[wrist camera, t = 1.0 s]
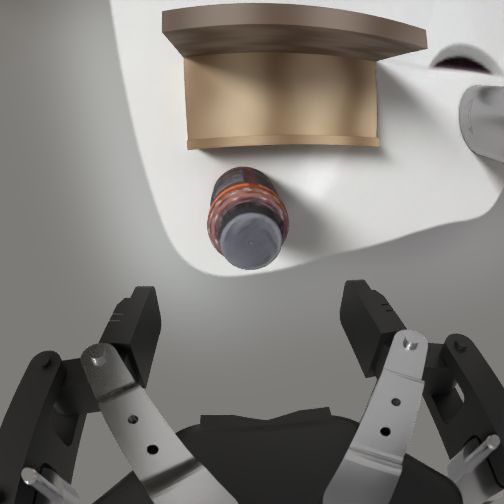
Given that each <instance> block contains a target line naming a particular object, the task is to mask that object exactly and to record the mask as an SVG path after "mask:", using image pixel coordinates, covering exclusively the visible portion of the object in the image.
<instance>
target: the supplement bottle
mask: <svg viewBox="0 0 504 504" xmlns="http://www.w3.org/2000/svg"><path fill="white" fill-rule="evenodd" d="M207 228H208V234H209V237H210V240H211V242H212V244H213V246H214V247H215V248H216V250H217V251H218V252H219V253H220V254H221V255H223V256H224V257H225V258H226V259H227V261H229V262H230V263H231V264H232V265H234V266H236V267H238V268H241V269H245V270H255V269H259V268H262V267H265V266H267V265H268V264H270V263H271V262H272V261H273V260H274V259H275V258H276V257H277V255H278V254H279V252H280V250H281V246H282V244H283V243H284V241H285V239H286V236H287V233H288V228H289V220H288V215H287V211H286V208H285V206H284V204H283V202H282V200H281V199H280V197H279V195H278V194H277V192H276V190H275V189H274V187H273V185H272V184H271V182H270V181H269V179H268V178H267V177H266V176H265V175H264V174H263V173H261V172H260V171H258V170H256V169H253V168H249V167H237V168H233V169H231V170H229V171H227V172H225V173H224V174H223V175H222V176H221V177H220V178H219V179H218V180H217V182H216V184H215V186H214V188H213V192H212V197H211V203H210V208H209V215H208V221H207Z"/></svg>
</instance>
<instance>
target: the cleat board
mask: <svg viewBox="0 0 504 504" xmlns="http://www.w3.org/2000/svg"><path fill="white" fill-rule="evenodd" d="M162 33H163V34H164V35H165V36H166V37H167V38H168V40H169V41H170V42H171V43H172V44H173V45H174V47H175V48H176V49H177V50H178V51H179V53H180V54H181V55H182V56H183V57H184V81H185V101H186V117H187V132H188V140H187V147H188V150H193V149H204V148H217V147H232V146H250V145H280V144H327V145H357V146H375V147H379V144H380V138H376V130H377V95H376V66H375V62H376V61H379V60H383V59H386V58H390V57H394V56H398V55H402V54H406V53H410V52H415V51H419V50H424V49H428V47H427V37H426V30H424V29H421V28H418V27H415V26H411V25H408V24H405V23H401V22H397V21H393V20H390V19H386V18H381V17H377V16H372V15H368V14H363V13H358V12H352V11H346V10H340V9H333V8H326V7H317V6H307V5H295V4H276V3H237V4H218V5H206V6H196V7H187V8H180V9H173V10H167V11H162Z"/></svg>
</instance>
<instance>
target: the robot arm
mask: <svg viewBox="0 0 504 504" xmlns="http://www.w3.org/2000/svg"><path fill="white" fill-rule="evenodd" d="M459 120H460V127H461V131H462V134H463V137H464V139H465V141H466V143H467V145H468V146H469V148H470V149H471V150H472V151H473V152H475V153H477V154H478V155H481V156H485V157H488V158H491V159H494V160H497V161H499V162H502V163H504V87H500V86H482V85H475V86H472V87H470V88H469V89H467V91H466V92H465V93H464V95H463V97H462V99H461V103H460V110H459ZM340 321H341V324H342V327H343V329H344V331H345V333H346V335H347V337H348V340H349V342H350V344H351V346H352V348H353V351H354V353H355V355H356V357H357V359H358V362H359V364H360V366H361V369H362V371H363V373H364V375H365V377H366V378H368V377H374V376H376V378H377V382H376V384H375V387H374V389H373V391H372V394H371V396H370V399H369V401H368V403H367V405H366V408H365V410H364V412H363V414H362V417H361V419H360V421H359V423H358V422H356V421H354V420H351V419H348V418H345V417H340V416H333V415H331V412H330V409H329V407H324V408H317V409H309V410H300V411H297V412H293V413H290V414H287V415H284V416H281V417H277V418H274V419H270V420H260V419H253V418H247V417H241V416H235V415H201V419H200V424H197V425H193V426H190V427H187V428H185V429H182V430H180V431H179V432H177V433H174V432H173V431H172V429H171V428H170V427H169V425H168V424H167V423H166V421H165V420H164V419H163V417H162V416H161V414H160V413H159V412H158V410H157V409H156V407H155V406H154V405H153V403H152V402H151V400H150V399H149V397H148V396H147V394H146V393H145V392H144V390H143V388H146V386H147V382H148V378H149V373H150V369H151V365H152V361H153V357H154V353H155V349H156V346H157V342H158V337H159V335H160V331H161V316H160V311H159V306H158V301H157V296H156V291H155V288H154V287H153V286H137V287H136V288H135V289H134V292H133V294H132V296H131V298H124V299H123V300H122V301H121V302H120V303H119V304H118V305H117V306H116V308H115V310H114V312H113V315H112V316H111V318H110V321H109V322H108V324H107V326H106V328H105V330H104V332H103V335H102V337H101V339H100V341H99V343H97V344H93V345H91V346H89V347H88V348H86V349H85V350H84V351H83V353H82V355H81V358H77V359H71V360H64V361H62V360H61V358H60V356H59V355H58V354H57V353H56V352H54V351H44V352H41V353H39V354H37V355H36V356H35V357H34V358H33V359H32V360H31V362H30V364H29V366H28V368H27V370H26V371H25V374H24V376H23V378H22V380H21V382H20V384H19V386H18V388H17V390H16V392H15V395H14V397H13V399H12V401H11V403H10V406H9V408H8V410H7V413H6V415H5V417H4V420H3V423H2V425H1V428H0V504H79V496H78V493H77V492H76V490H75V489H74V488H73V487H72V486H71V481H72V476H73V470H74V465H75V461H76V456H77V452H78V447H79V443H80V439H81V434H82V431H83V427H84V423H85V419H86V415H87V413H92V412H99V411H101V413H102V415H103V417H104V419H105V421H106V423H107V425H108V427H109V429H110V431H111V433H112V435H113V437H114V438H115V440H116V442H117V444H118V445H119V447H120V449H121V451H122V453H123V454H124V456H125V458H126V459H127V461H128V463H129V464H130V466H131V468H132V469H133V470H132V471H131V472H130V473H129V474H128V475H127V476H126V477H124V478H123V479H122V480H121V481H120V482H118V483H117V484H116V485H115V486H113V487H112V488H111V489H110V490H109V491H108V492H106V493H105V494H104V495H103V496H101V497H100V498H99V499H98V500H96V501H95V502H94V503H92V504H490V503H492V502H493V501H495V500H497V499H498V498H500V497H501V496H502V495H504V388H503V386H502V384H501V383H500V381H499V380H498V378H497V377H496V375H495V374H494V372H493V371H492V369H491V368H490V366H489V365H488V363H487V362H486V360H485V359H484V357H483V356H482V354H481V353H480V352H479V350H478V349H477V347H476V346H475V345H474V343H473V342H472V341H471V340H470V339H469V338H468V337H466V336H464V335H461V334H451V335H449V336H448V337H447V338H446V340H445V343H444V344H435V343H428V342H427V340H426V338H425V337H424V336H423V335H422V334H420V333H418V332H416V331H413V330H407V329H406V327H405V326H404V324H403V323H402V321H401V320H400V318H399V317H398V315H397V314H396V313H395V311H393V308H392V307H391V305H389V303H388V301H387V300H386V299H385V297H384V296H383V295H381V294H380V293H379V292H377V291H376V290H371V289H370V287H369V286H368V285H367V283H366V282H365V280H348V281H346V283H345V286H344V292H343V297H342V303H341V308H340ZM457 383H458V385H459V386H460V388H461V390H462V392H463V394H464V403H463V401H462V400H461V398H460V396H459V394H458V392H457V390H456V388H455V386H456V384H457ZM422 395H423V397H424V399H425V402H426V404H427V406H428V408H429V410H430V413H431V415H432V417H433V420H434V422H435V424H436V427H437V429H438V431H439V434H440V436H441V438H442V441H443V443H444V446H445V448H446V451H447V454H448V456H449V459H450V462H449V464H448V469H447V470H448V475H447V477H446V476H444V475H443V474H440V473H439V472H437V471H435V470H434V469H432V468H430V467H428V466H427V465H425V464H424V463H422V462H420V461H418V460H417V459H415V458H414V457H412V456H410V455H409V454H407V453H405V452H406V449H407V446H408V443H409V440H410V437H411V433H412V430H413V427H414V423H415V420H416V416H417V413H418V409H419V404H420V401H421V397H422Z"/></svg>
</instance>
